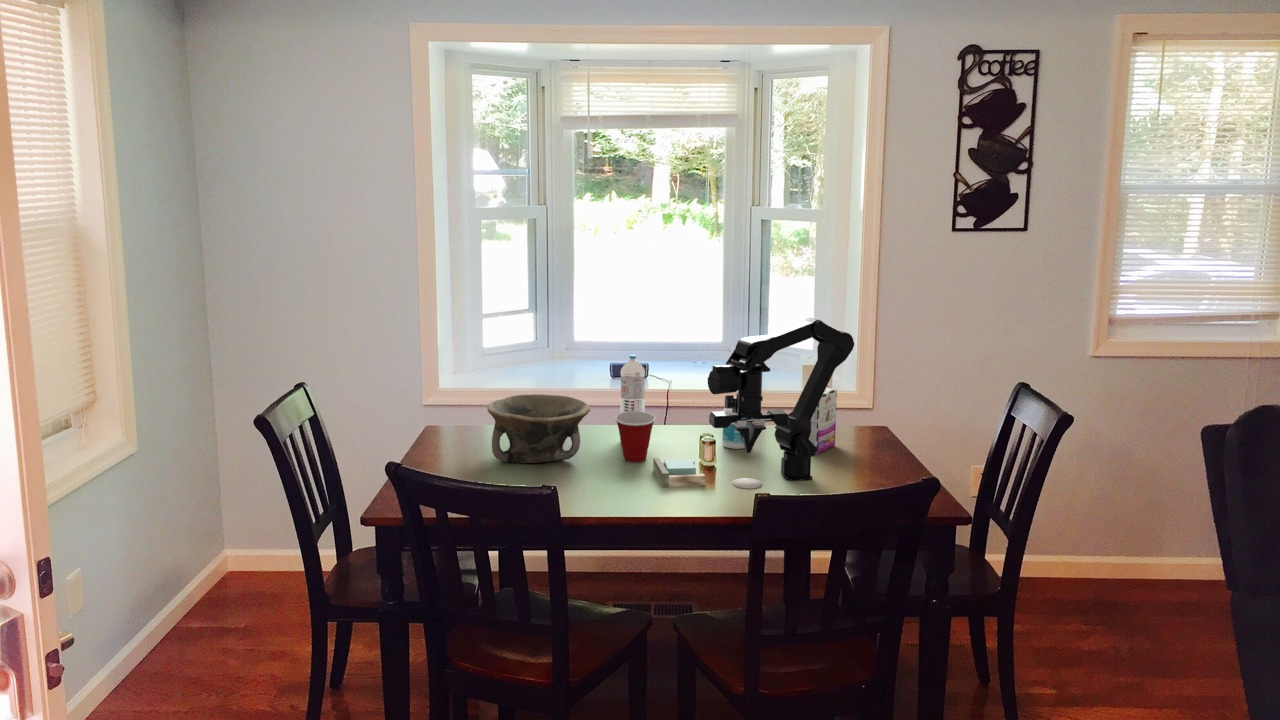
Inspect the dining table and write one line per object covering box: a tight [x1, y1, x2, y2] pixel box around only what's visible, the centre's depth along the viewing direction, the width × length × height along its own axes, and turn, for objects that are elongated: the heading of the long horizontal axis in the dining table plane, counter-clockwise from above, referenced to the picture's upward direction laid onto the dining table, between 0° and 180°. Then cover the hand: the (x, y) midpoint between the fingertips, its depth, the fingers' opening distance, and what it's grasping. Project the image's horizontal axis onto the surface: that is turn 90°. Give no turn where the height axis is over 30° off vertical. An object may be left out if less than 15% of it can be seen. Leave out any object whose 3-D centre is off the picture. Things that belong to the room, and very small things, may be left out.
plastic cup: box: [614, 411, 657, 464], centre depth 258 cm, size 11×11×12 cm
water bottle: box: [619, 354, 646, 413], centre depth 273 cm, size 7×7×25 cm
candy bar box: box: [809, 387, 838, 455], centre depth 269 cm, size 11×5×16 cm, turn 143°
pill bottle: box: [722, 396, 749, 450], centre depth 271 cm, size 8×7×14 cm
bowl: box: [486, 393, 591, 464], centre depth 258 cm, size 27×26×15 cm
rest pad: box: [732, 477, 762, 490], centre depth 240 cm, size 7×7×1 cm
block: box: [664, 459, 697, 475], centre depth 243 cm, size 7×7×4 cm
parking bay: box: [652, 457, 706, 488], centre depth 243 cm, size 10×13×4 cm
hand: (748, 452), depth 238 cm, fingers closed
